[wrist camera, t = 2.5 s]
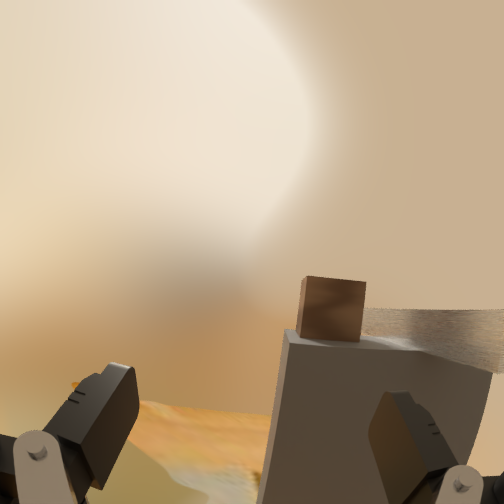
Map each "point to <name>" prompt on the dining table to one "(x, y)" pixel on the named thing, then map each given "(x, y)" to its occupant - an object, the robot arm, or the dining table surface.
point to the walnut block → (331, 309)
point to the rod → (443, 333)
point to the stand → (356, 415)
